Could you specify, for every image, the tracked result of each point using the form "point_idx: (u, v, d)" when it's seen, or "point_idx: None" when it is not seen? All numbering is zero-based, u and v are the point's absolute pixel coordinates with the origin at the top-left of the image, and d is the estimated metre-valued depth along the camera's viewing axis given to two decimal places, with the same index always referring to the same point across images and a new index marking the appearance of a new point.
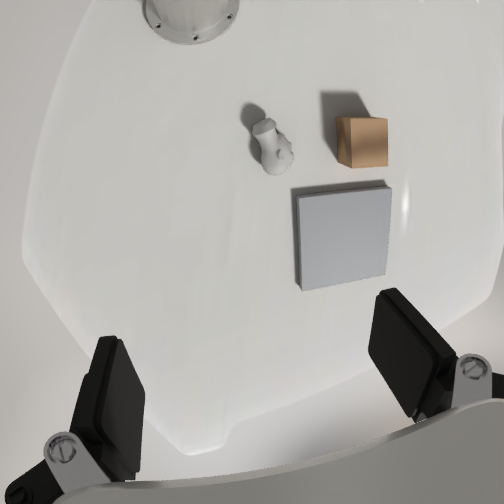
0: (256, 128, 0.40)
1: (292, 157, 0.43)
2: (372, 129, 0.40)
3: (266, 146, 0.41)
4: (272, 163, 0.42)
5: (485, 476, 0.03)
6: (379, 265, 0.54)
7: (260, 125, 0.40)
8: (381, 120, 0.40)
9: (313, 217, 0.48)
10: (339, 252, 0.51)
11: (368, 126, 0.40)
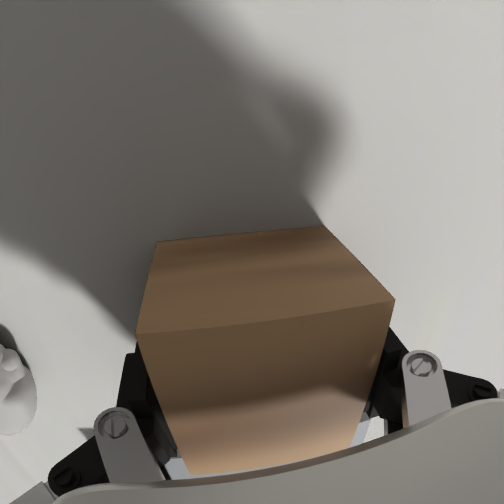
0: None
1: (17, 407, 0.10)
2: (288, 366, 0.07)
3: None
4: None
5: (485, 476, 0.03)
6: None
7: None
8: (357, 315, 0.07)
9: None
10: None
11: (266, 359, 0.07)
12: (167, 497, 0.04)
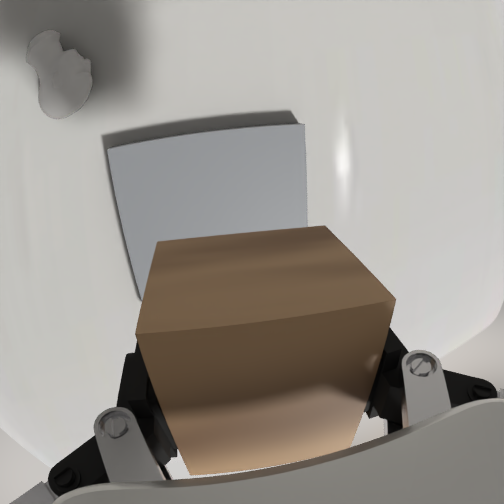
0: None
1: (81, 80, 0.19)
2: (288, 366, 0.07)
3: (39, 73, 0.18)
4: (46, 97, 0.18)
5: (485, 476, 0.03)
6: None
7: None
8: (358, 314, 0.07)
9: (138, 184, 0.25)
10: None
11: (267, 359, 0.07)
12: (167, 497, 0.04)
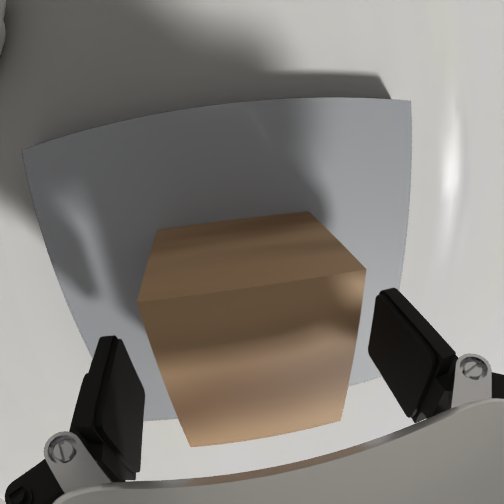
0: None
1: None
2: (272, 331, 0.09)
3: None
4: None
5: (485, 476, 0.03)
6: (365, 359, 0.17)
7: None
8: (331, 283, 0.08)
9: (83, 218, 0.11)
10: None
11: (252, 324, 0.08)
12: (167, 497, 0.04)
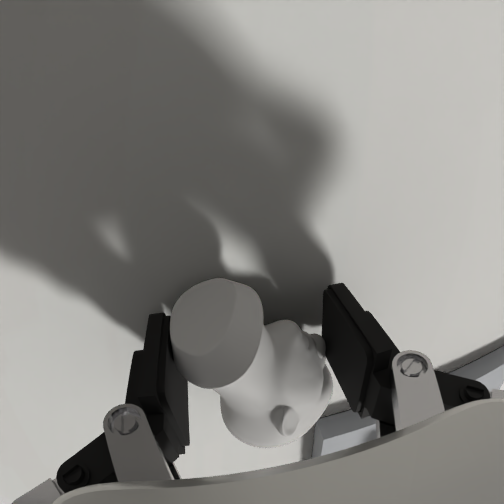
0: (176, 350, 0.09)
1: (328, 399, 0.11)
2: None
3: (230, 401, 0.10)
4: (259, 439, 0.11)
5: (485, 476, 0.03)
6: None
7: (187, 346, 0.09)
8: None
9: None
10: None
11: None
12: (167, 497, 0.04)
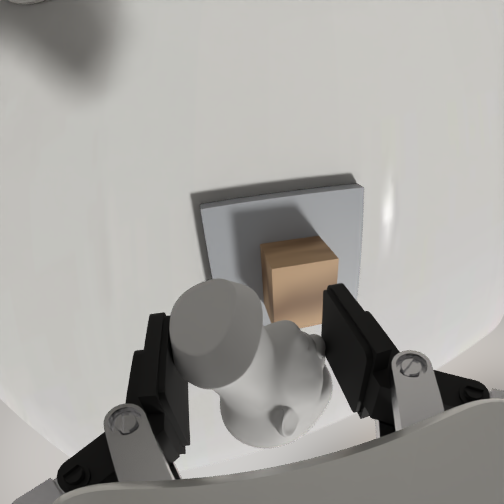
0: (175, 350, 0.09)
1: (327, 400, 0.11)
2: (310, 278, 0.28)
3: (230, 402, 0.10)
4: (258, 440, 0.11)
5: (485, 476, 0.03)
6: None
7: (187, 346, 0.09)
8: (328, 262, 0.27)
9: (228, 239, 0.30)
10: None
11: (304, 275, 0.28)
12: (167, 497, 0.04)
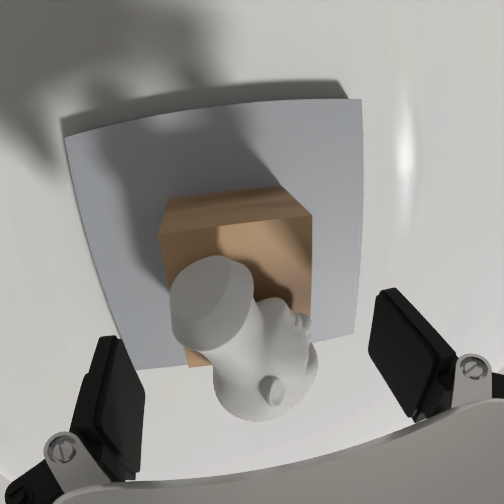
0: (175, 317, 0.10)
1: (313, 375, 0.13)
2: (248, 258, 0.13)
3: (222, 370, 0.11)
4: (248, 410, 0.12)
5: (485, 476, 0.03)
6: (337, 314, 0.21)
7: (186, 312, 0.10)
8: (287, 224, 0.13)
9: (111, 189, 0.16)
10: None
11: (234, 252, 0.13)
12: (167, 497, 0.04)
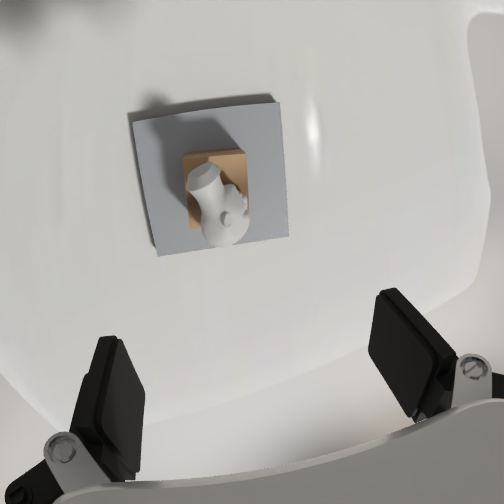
0: (189, 180, 0.27)
1: (246, 221, 0.29)
2: None
3: (205, 207, 0.28)
4: (215, 233, 0.29)
5: (485, 476, 0.03)
6: (276, 221, 0.38)
7: (194, 176, 0.27)
8: (235, 156, 0.29)
9: (155, 148, 0.32)
10: None
11: None
12: (167, 497, 0.04)
